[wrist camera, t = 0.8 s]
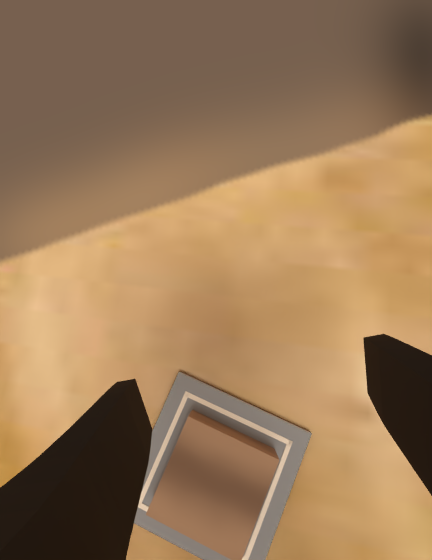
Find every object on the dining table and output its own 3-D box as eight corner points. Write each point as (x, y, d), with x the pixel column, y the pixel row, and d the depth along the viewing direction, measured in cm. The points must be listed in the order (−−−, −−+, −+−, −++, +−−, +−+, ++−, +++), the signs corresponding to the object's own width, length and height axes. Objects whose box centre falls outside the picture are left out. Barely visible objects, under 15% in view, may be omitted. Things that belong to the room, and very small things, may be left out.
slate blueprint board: (254, 582, 29) (255, 588, 28) (118, 510, 30) (115, 514, 29) (310, 431, 31) (312, 433, 30) (179, 371, 32) (178, 371, 31)
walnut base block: (238, 541, 29) (239, 564, 26) (154, 497, 30) (145, 514, 27) (274, 448, 30) (279, 459, 27) (192, 409, 31) (188, 416, 28)
